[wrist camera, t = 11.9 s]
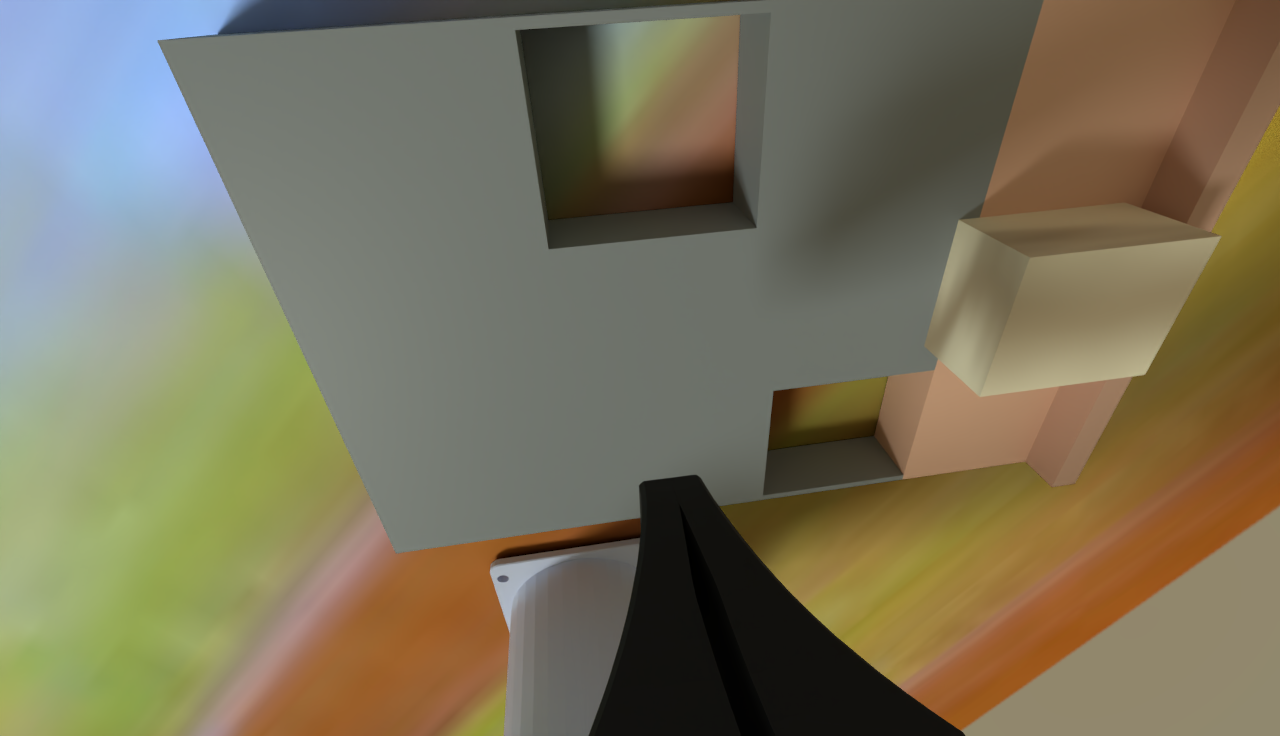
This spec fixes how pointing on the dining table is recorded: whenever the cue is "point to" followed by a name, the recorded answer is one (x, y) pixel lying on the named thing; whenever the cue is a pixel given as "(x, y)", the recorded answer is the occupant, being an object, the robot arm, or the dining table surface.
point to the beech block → (1062, 295)
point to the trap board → (699, 239)
